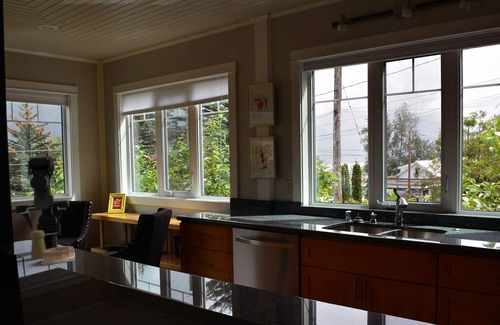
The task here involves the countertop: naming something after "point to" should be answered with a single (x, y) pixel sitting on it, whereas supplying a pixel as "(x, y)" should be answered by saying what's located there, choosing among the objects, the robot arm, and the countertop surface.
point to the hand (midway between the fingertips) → (44, 227)
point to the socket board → (58, 255)
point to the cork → (37, 244)
